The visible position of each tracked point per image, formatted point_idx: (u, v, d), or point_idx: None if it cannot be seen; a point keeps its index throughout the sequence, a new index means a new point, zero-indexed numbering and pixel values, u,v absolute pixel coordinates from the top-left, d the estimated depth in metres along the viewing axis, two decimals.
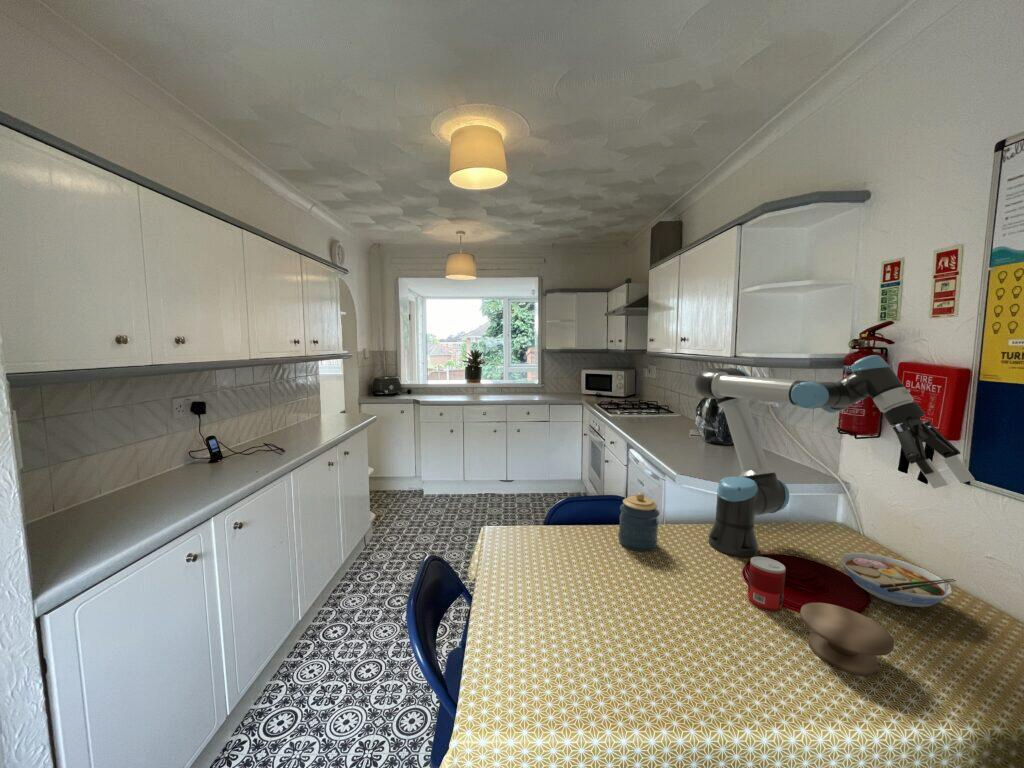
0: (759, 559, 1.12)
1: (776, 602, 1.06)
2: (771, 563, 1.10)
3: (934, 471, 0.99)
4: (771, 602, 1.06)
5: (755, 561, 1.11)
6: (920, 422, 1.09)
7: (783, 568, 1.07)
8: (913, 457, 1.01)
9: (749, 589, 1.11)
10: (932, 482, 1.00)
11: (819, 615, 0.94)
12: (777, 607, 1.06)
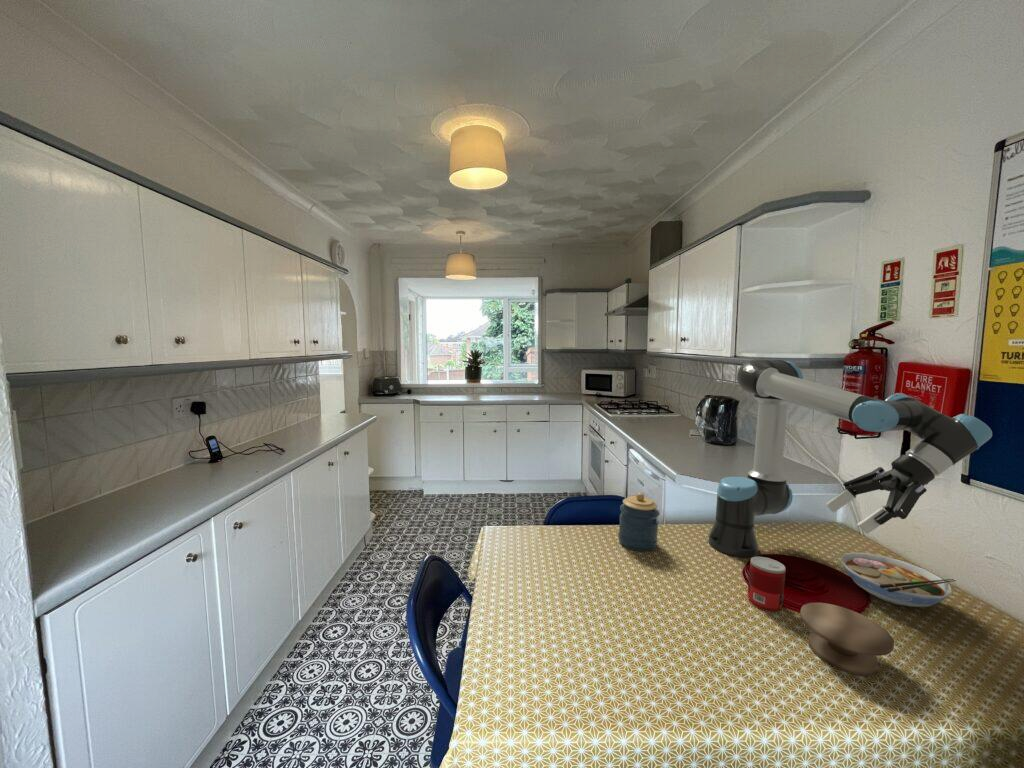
0: (759, 559, 1.12)
1: (776, 602, 1.06)
2: (771, 563, 1.10)
3: (878, 523, 0.97)
4: (771, 602, 1.06)
5: (755, 561, 1.11)
6: None
7: (783, 568, 1.07)
8: (901, 515, 0.94)
9: (749, 589, 1.11)
10: (865, 523, 0.98)
11: (819, 615, 0.94)
12: (777, 607, 1.06)
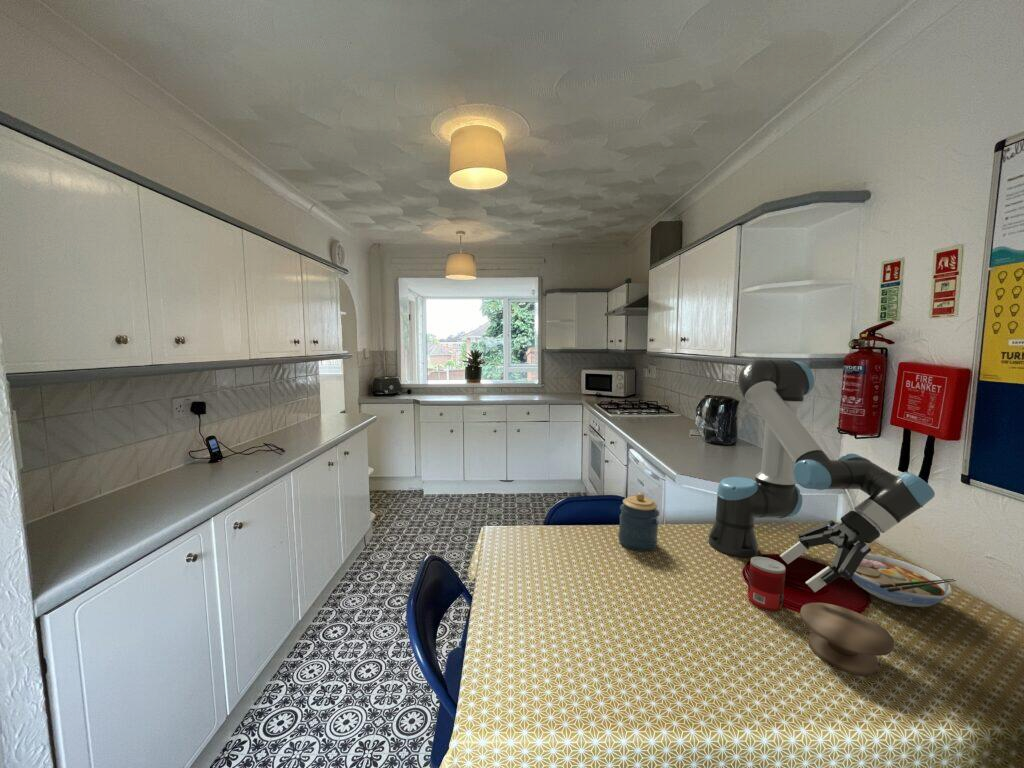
0: (759, 559, 1.12)
1: (776, 602, 1.06)
2: (771, 563, 1.10)
3: None
4: (771, 602, 1.06)
5: (755, 561, 1.11)
6: None
7: (783, 568, 1.07)
8: (845, 576, 0.95)
9: (749, 589, 1.11)
10: (813, 582, 0.99)
11: (819, 615, 0.94)
12: (777, 607, 1.06)
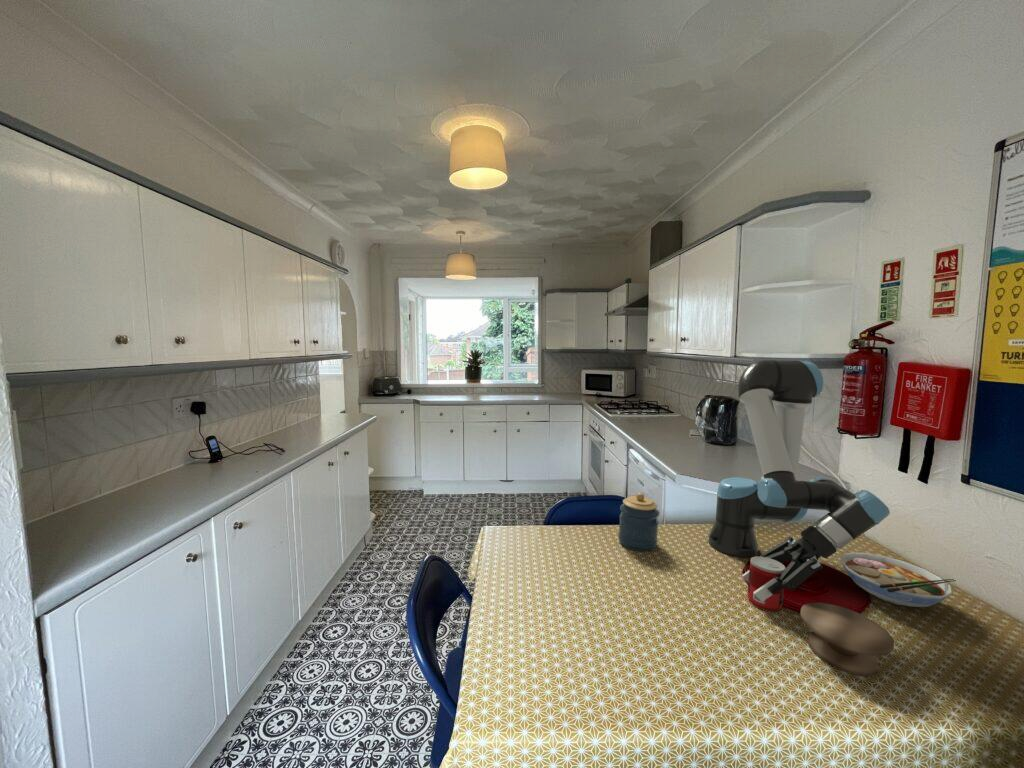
0: (759, 559, 1.12)
1: (776, 602, 1.06)
2: (771, 563, 1.10)
3: None
4: (770, 602, 1.06)
5: (755, 561, 1.11)
6: None
7: (783, 568, 1.07)
8: (788, 588, 1.02)
9: (748, 589, 1.11)
10: (760, 592, 1.06)
11: (819, 615, 0.94)
12: (777, 607, 1.06)
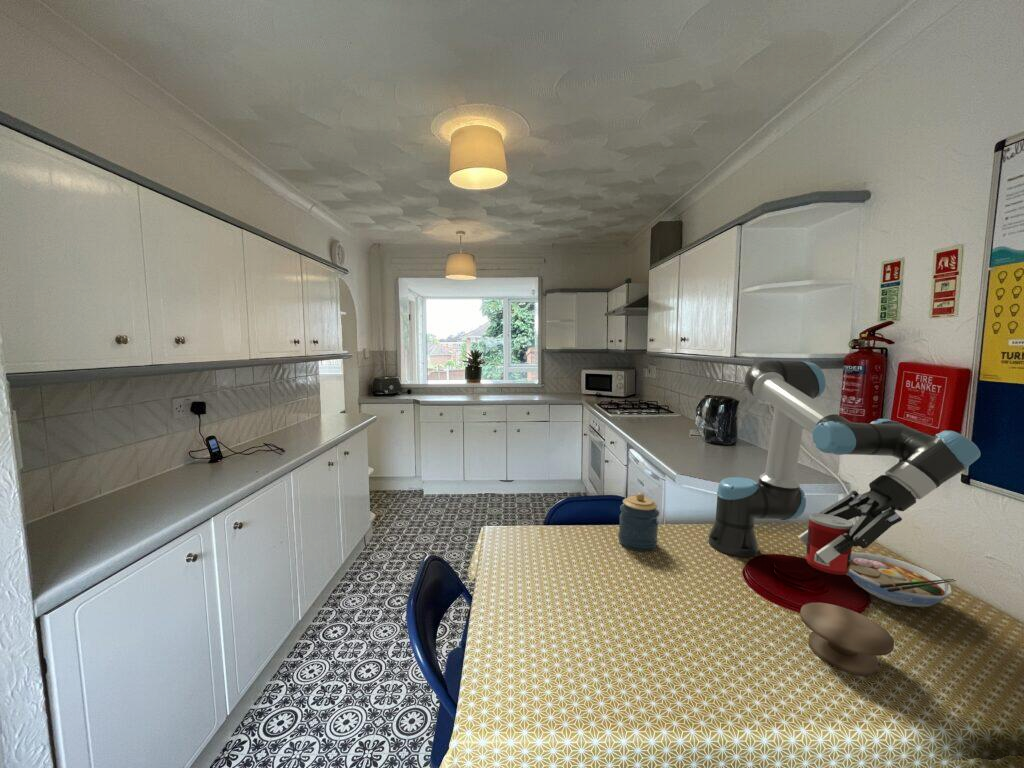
0: (819, 516, 0.96)
1: (844, 564, 0.90)
2: (834, 520, 0.94)
3: (839, 552, 0.89)
4: (837, 564, 0.90)
5: (815, 518, 0.95)
6: None
7: (850, 524, 0.91)
8: (860, 544, 0.86)
9: (808, 551, 0.95)
10: (825, 552, 0.90)
11: (819, 615, 0.94)
12: (844, 569, 0.90)
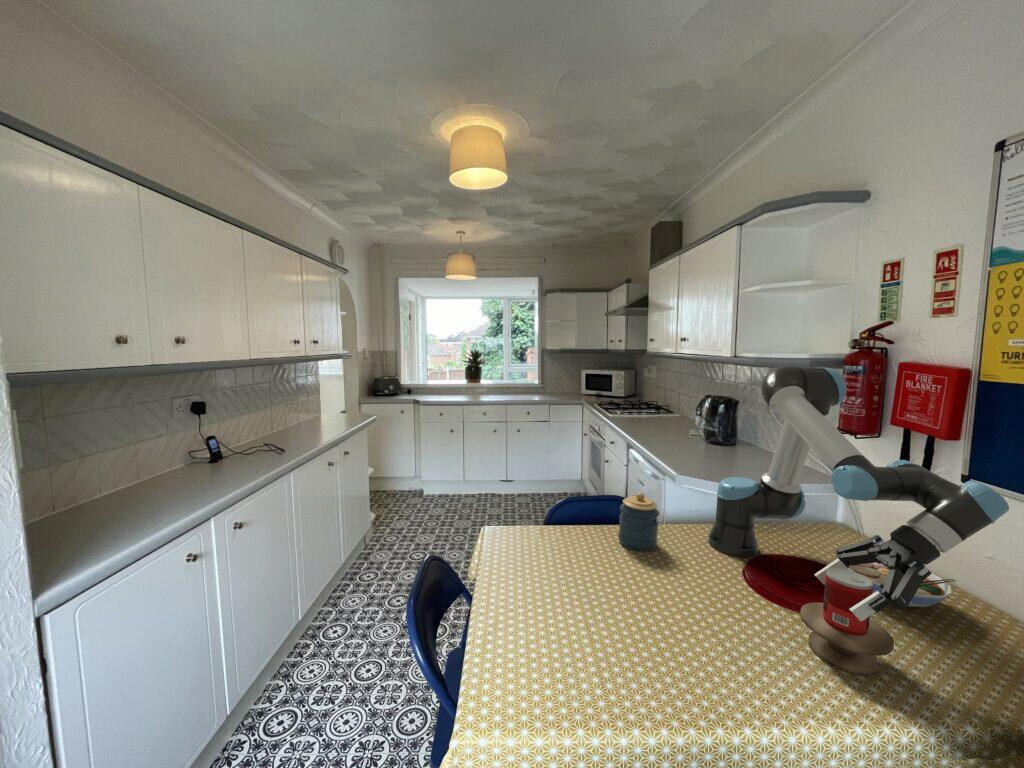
0: (836, 571, 0.93)
1: (863, 625, 0.87)
2: (852, 576, 0.91)
3: None
4: (856, 624, 0.87)
5: (833, 574, 0.92)
6: None
7: (870, 583, 0.88)
8: (901, 604, 0.80)
9: (825, 608, 0.91)
10: (859, 609, 0.84)
11: (819, 615, 0.94)
12: (864, 630, 0.87)
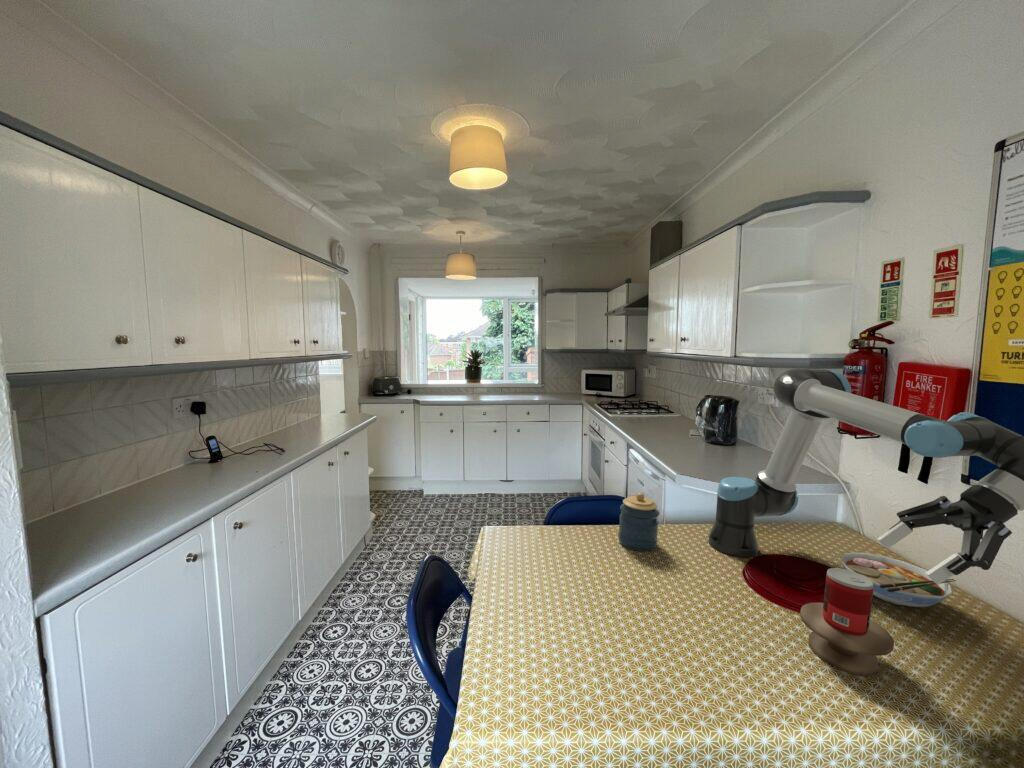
0: (837, 571, 0.93)
1: (864, 625, 0.87)
2: (853, 576, 0.91)
3: (952, 572, 0.81)
4: (856, 625, 0.87)
5: (833, 574, 0.91)
6: None
7: (870, 583, 0.88)
8: (983, 565, 0.77)
9: (825, 608, 0.91)
10: (936, 573, 0.81)
11: (819, 615, 0.94)
12: (864, 631, 0.87)
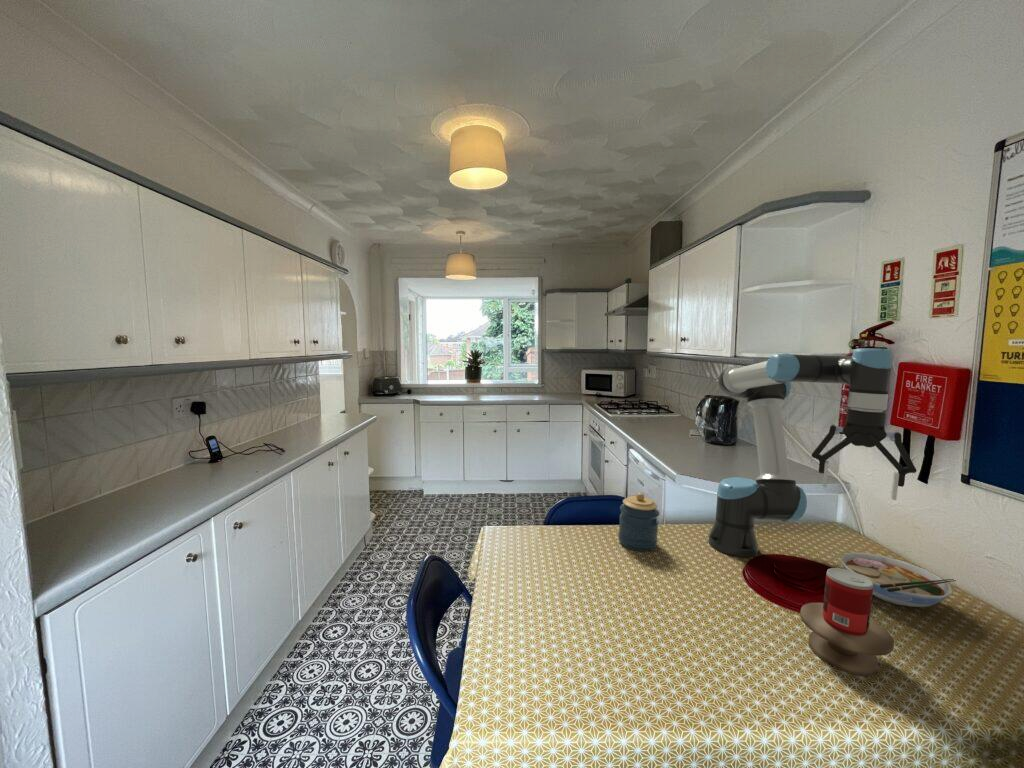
0: (836, 571, 0.93)
1: (863, 625, 0.87)
2: (852, 576, 0.91)
3: None
4: (856, 625, 0.87)
5: (833, 574, 0.91)
6: None
7: (870, 583, 0.88)
8: None
9: (825, 608, 0.91)
10: (896, 494, 1.01)
11: (819, 615, 0.94)
12: (864, 630, 0.87)
